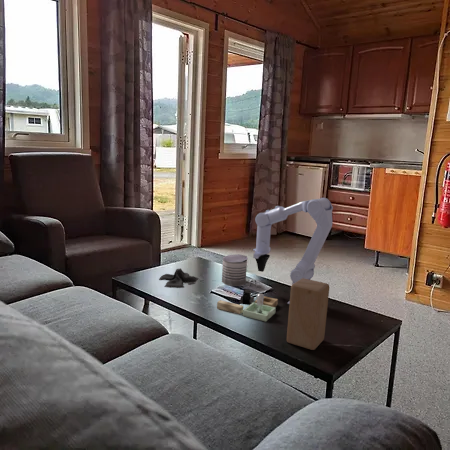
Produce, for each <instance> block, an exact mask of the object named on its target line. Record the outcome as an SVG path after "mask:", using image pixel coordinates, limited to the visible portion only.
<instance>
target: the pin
mask: <svg viewBox="0 0 450 450" xmlns="http://www.w3.org/2000/svg"><path fill="white" fill-rule="evenodd" d="M264 296H265V295H264V293H257V296H256V300H257V305H256V313H260V314H262V310H263V299H264Z"/></svg>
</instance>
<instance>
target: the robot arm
mask: <svg viewBox="0 0 450 450" xmlns="http://www.w3.org/2000/svg"><path fill="white" fill-rule="evenodd" d="M333 209H334V207H333V205H332V202H331V200H329V199H328V198H326V197H320V198H315V199H314V198H312V199H308V200H303V201H299V202H298V203H295V204H292V205H290V206H287V207H284V206H282V205H281V206H280V205H276V206H275V207H274V208H273V209H267V210H265V211H264V212H259V213H257V215H256V216H255V224H256V226H257V227H256V228H257V229H256V246H255V248H253V250H252V251H253V252H254V253H253V257H252V258H253V259H255V261H256V266H257V270H258V272H264V271H265V268H266V264H267V262H268V260H269V258H270V256H271V255H270V252H271V248H272V247H270V246H271V245H270V244H271V232H272V230H271V228H272V225H274V224H276V223H279V222H283V221H286V220H287V219H288V216H291V215H293V214H296V213H301V212H304V213H308V214H309V215H310V216H311V218H312V219H313V220H314V222H315V223H316V226H315V229H314V231H313V233H312V235H311V239H310V240H309V242H308V244H307V246H306V249H305V250H304V253H303V255H302V257H301V259H300V260H299V262H298V263H297V264H296V266H295V267H294V268H293V269H292V270H291V271H290V273H289V277H290V280H291V283H292V284H294V283H296V282H297V281H299V280H300V279H302V278H305V279H309V280H312V278H313V277H314V274H315V267H316V265H315V263H316V260H317V259H318V256H319V255H320V252H321V251H322V248H323V246H324V244H325V242H326V239H327V237H328V236H329V233H330V232H331V229H332V227H333ZM286 304H287V305H289V304H290V300H289V301H288V302H287V303H286Z"/></svg>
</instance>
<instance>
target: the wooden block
mask: <svg viewBox="0 0 450 450" xmlns="http://www.w3.org/2000/svg"><path fill="white" fill-rule="evenodd" d="M329 294H330V284H329V283H326V282H322V281H318V280H313V279H310V280H309V279H305V278H302V279H300V280H299V281H297V282H296V283H294V284H292V285H291V286H290V293H289V296H290V297H289V301H290V304H288V318H287V329H286V331H287V332H286V342H287V343H288V344H292V345H295V346H298V347H302V348H304V349H308V350H311V351H316V349H317V348H318V346H319V345H320V344H322V342H323V341H324V340H325V333H326V324H327V314H328V305H329Z"/></svg>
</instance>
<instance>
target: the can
mask: <svg viewBox="0 0 450 450" xmlns="http://www.w3.org/2000/svg"><path fill="white" fill-rule="evenodd" d="M247 266H248V256H247V255H244V254H236V253H235V254H227V255H225V256H223V257H222V271H221V272H222V273H221V282H222V283H223V284H224V285H226V286H230V287H238V286H239V287H241V286H244V285H246V282H247V271H248V270H247Z"/></svg>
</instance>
